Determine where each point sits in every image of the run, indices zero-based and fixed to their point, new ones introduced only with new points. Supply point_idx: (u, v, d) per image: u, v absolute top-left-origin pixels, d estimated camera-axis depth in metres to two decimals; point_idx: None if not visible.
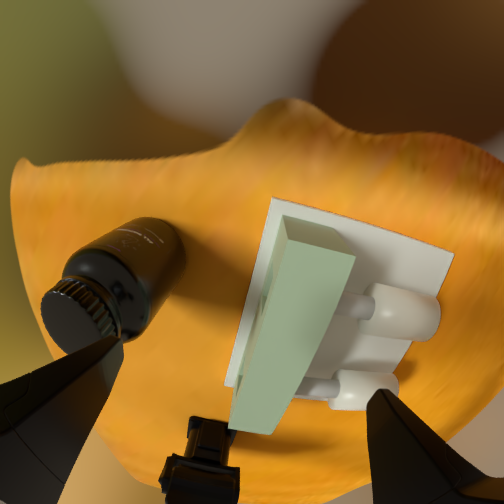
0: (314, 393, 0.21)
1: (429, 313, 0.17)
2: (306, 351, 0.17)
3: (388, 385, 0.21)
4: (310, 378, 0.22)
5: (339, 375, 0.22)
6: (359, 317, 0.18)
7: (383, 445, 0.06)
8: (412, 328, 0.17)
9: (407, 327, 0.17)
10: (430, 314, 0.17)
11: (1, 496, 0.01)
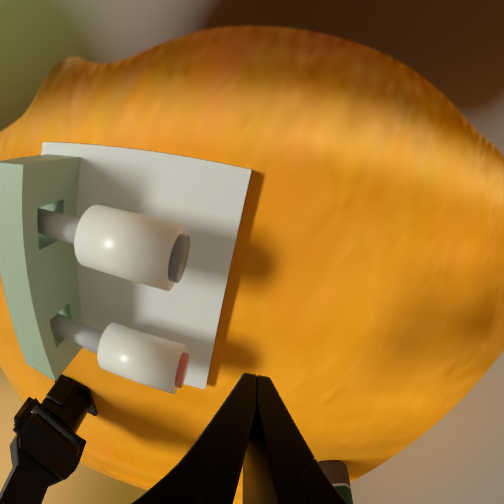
0: (80, 341, 0.17)
1: (146, 240, 0.13)
2: (21, 270, 0.13)
3: (160, 355, 0.17)
4: (80, 324, 0.18)
5: None
6: None
7: (249, 442, 0.06)
8: (119, 259, 0.13)
9: (111, 256, 0.13)
10: (147, 242, 0.13)
11: None
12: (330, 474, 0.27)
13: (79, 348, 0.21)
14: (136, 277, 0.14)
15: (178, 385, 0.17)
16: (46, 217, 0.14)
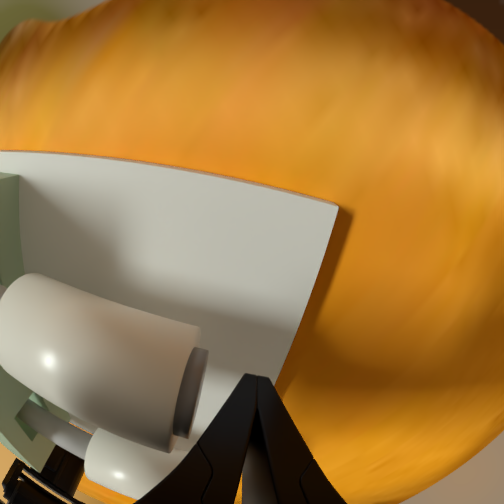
0: (59, 445, 0.09)
1: (117, 388, 0.05)
2: None
3: None
4: (55, 422, 0.10)
5: None
6: None
7: (249, 441, 0.06)
8: (72, 408, 0.05)
9: (57, 399, 0.05)
10: (120, 394, 0.05)
11: None
12: None
13: None
14: (113, 432, 0.06)
15: None
16: None
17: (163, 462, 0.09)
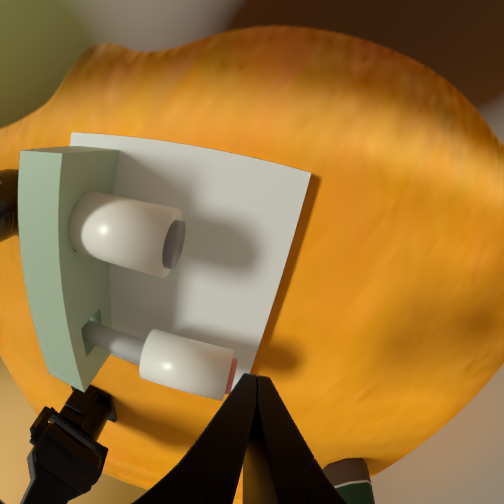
0: (116, 350, 0.17)
1: (141, 224, 0.13)
2: (53, 274, 0.13)
3: (211, 362, 0.17)
4: (115, 331, 0.18)
5: None
6: None
7: (249, 442, 0.06)
8: (113, 244, 0.13)
9: (105, 241, 0.13)
10: (142, 226, 0.13)
11: None
12: (353, 472, 0.27)
13: (107, 355, 0.21)
14: (130, 263, 0.14)
15: (228, 392, 0.17)
16: None
17: (202, 347, 0.18)
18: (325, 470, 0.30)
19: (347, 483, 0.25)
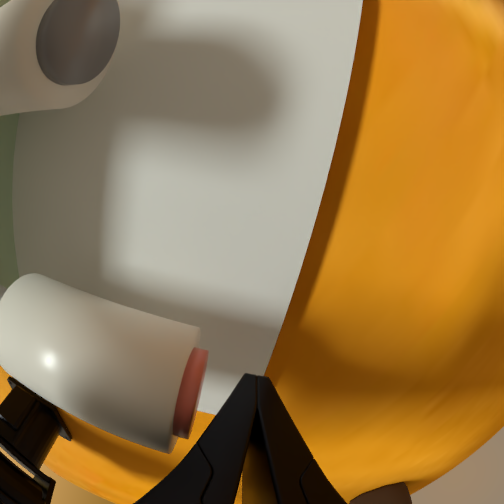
0: None
1: None
2: None
3: (126, 355, 0.05)
4: None
5: None
6: None
7: (248, 441, 0.06)
8: None
9: None
10: None
11: None
12: (395, 502, 0.15)
13: None
14: None
15: (183, 435, 0.06)
16: None
17: (115, 314, 0.06)
18: (357, 501, 0.18)
19: None
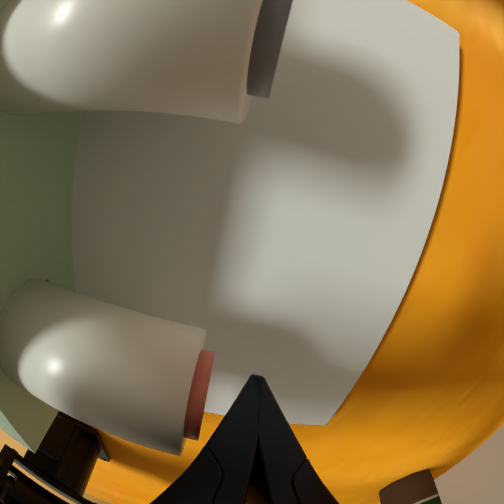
0: None
1: None
2: None
3: (136, 360, 0.05)
4: None
5: None
6: None
7: None
8: None
9: None
10: None
11: None
12: (423, 487, 0.16)
13: None
14: (126, 33, 0.02)
15: (193, 437, 0.06)
16: None
17: (122, 319, 0.06)
18: (388, 490, 0.19)
19: (419, 503, 0.15)
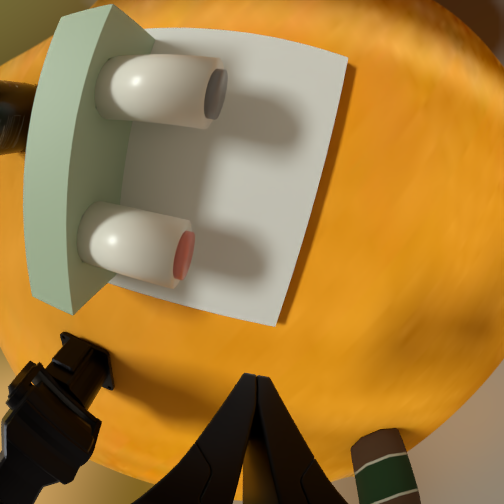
0: None
1: (186, 61, 0.10)
2: (65, 126, 0.10)
3: (157, 223, 0.14)
4: None
5: None
6: None
7: (249, 442, 0.06)
8: (149, 80, 0.10)
9: (140, 79, 0.10)
10: (187, 61, 0.10)
11: None
12: (391, 443, 0.24)
13: (108, 278, 0.18)
14: (165, 101, 0.11)
15: (177, 269, 0.14)
16: None
17: (152, 212, 0.15)
18: (357, 445, 0.27)
19: (385, 457, 0.22)
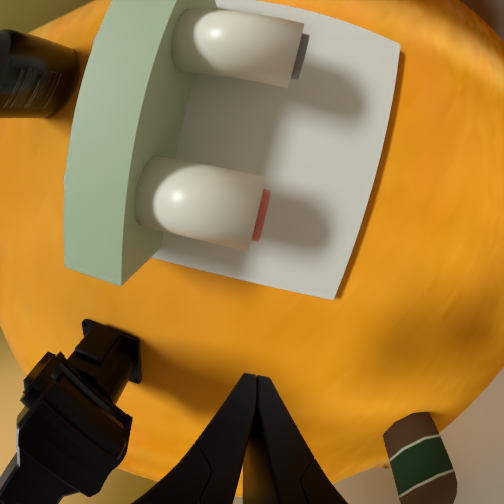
0: None
1: (276, 20, 0.09)
2: (140, 63, 0.09)
3: (238, 176, 0.13)
4: None
5: None
6: None
7: (249, 442, 0.06)
8: (241, 30, 0.09)
9: (231, 28, 0.09)
10: (278, 20, 0.09)
11: None
12: (424, 426, 0.23)
13: (155, 250, 0.17)
14: (258, 52, 0.10)
15: (260, 227, 0.13)
16: None
17: (225, 168, 0.14)
18: (391, 431, 0.26)
19: (421, 440, 0.21)
